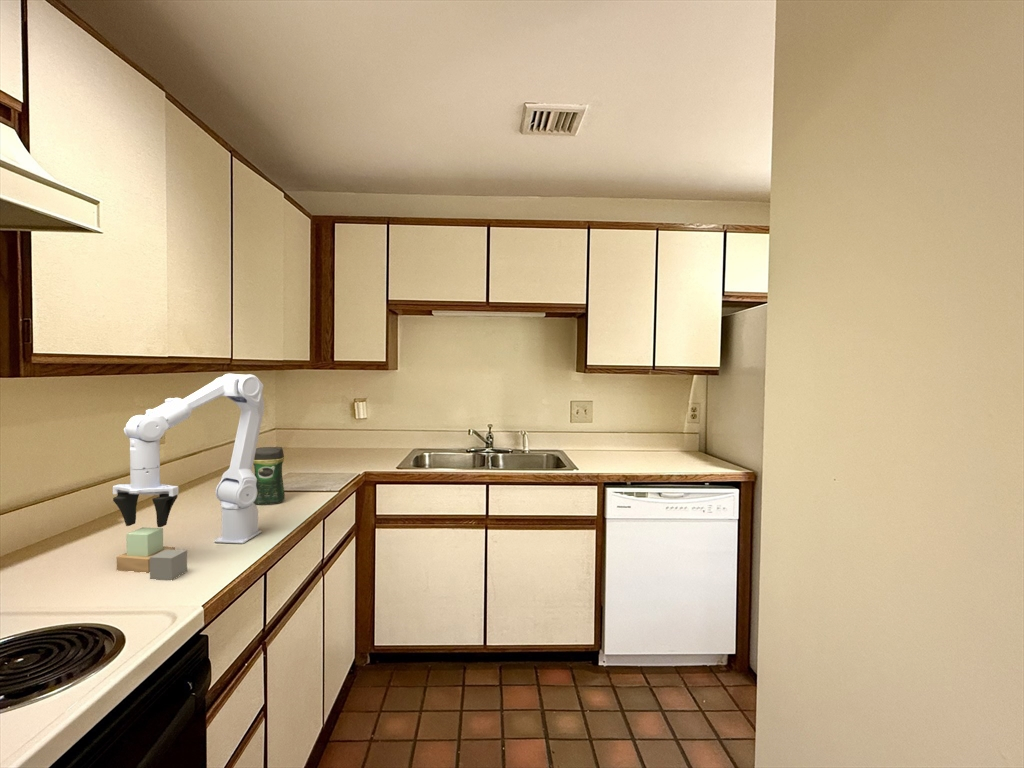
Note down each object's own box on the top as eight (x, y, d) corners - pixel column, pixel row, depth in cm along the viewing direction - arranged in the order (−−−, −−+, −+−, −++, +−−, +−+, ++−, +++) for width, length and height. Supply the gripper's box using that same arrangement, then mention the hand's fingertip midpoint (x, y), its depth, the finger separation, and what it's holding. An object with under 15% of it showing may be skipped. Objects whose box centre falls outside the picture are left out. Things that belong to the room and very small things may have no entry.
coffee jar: (286, 498, 188) (286, 445, 187) (281, 504, 180) (281, 448, 179) (256, 499, 186) (255, 445, 185) (250, 505, 178) (249, 449, 177)
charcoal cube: (166, 571, 124) (165, 549, 124) (187, 571, 124) (186, 550, 124) (150, 579, 119) (149, 557, 119) (172, 580, 119) (171, 558, 119)
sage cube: (143, 548, 129) (142, 527, 129) (163, 548, 129) (162, 528, 129) (126, 555, 124) (126, 534, 124) (147, 556, 124) (147, 534, 124)
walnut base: (145, 559, 132) (145, 545, 132) (175, 561, 131) (175, 547, 130) (116, 572, 124) (116, 556, 124) (148, 574, 123) (148, 559, 122)
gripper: (101, 469, 122) (102, 529, 123) (163, 471, 122) (164, 532, 122) (125, 463, 130) (126, 520, 130) (184, 465, 129) (185, 522, 129)
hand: (146, 525), depth 127 cm, fingers open, 7 cm apart
